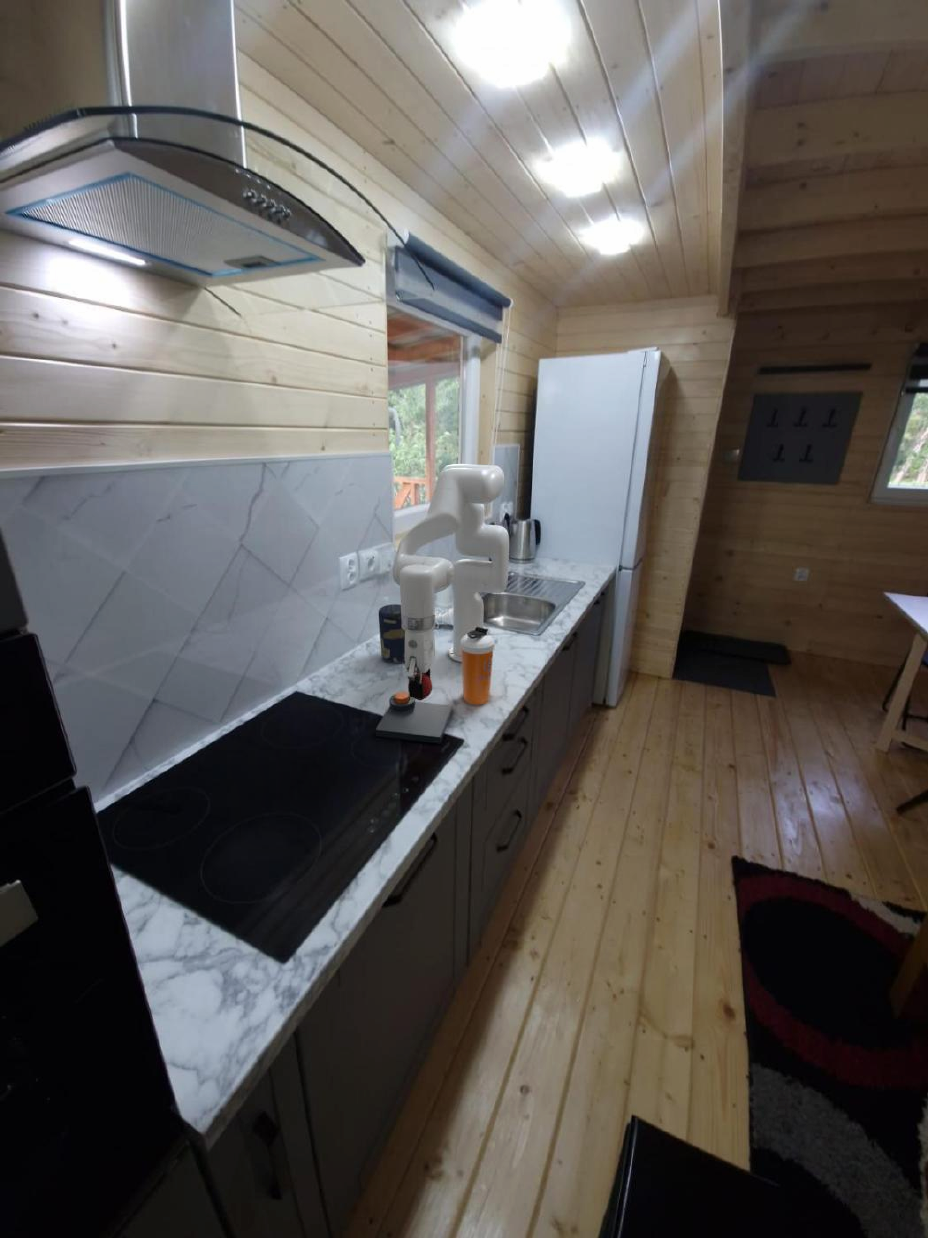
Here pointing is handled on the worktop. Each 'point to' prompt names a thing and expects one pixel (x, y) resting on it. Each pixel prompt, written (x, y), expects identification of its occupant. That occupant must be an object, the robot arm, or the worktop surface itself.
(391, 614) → the canister
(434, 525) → the robot arm
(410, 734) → the scale
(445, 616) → the rocket engine
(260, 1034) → the worktop surface
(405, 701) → the button
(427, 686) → the onion
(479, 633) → the shaker bottle
